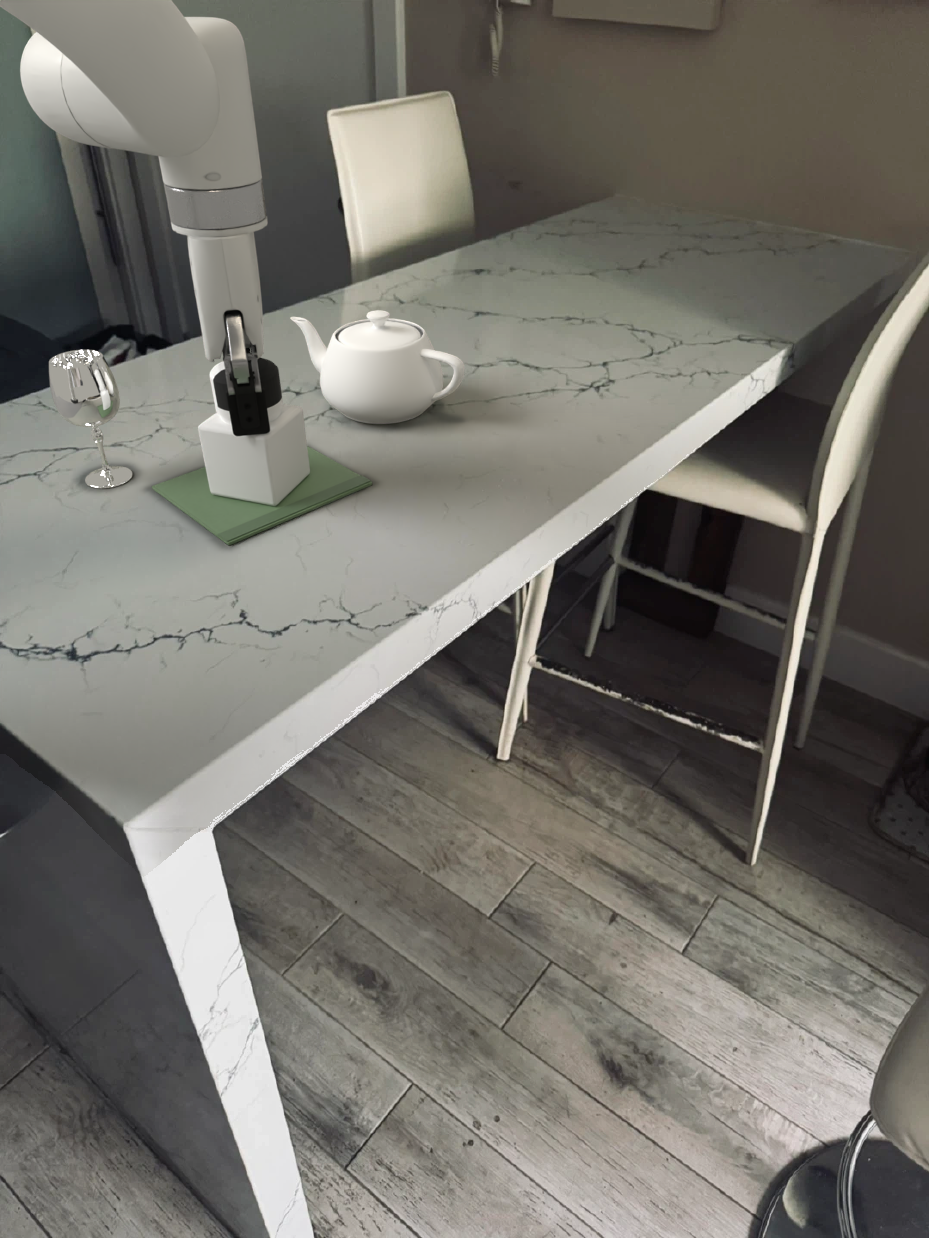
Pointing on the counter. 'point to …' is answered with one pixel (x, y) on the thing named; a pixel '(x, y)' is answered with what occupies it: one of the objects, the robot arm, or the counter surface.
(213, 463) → the medicine bottle
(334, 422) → the counter surface
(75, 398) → the wineglass
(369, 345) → the teapot
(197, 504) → the napkin
